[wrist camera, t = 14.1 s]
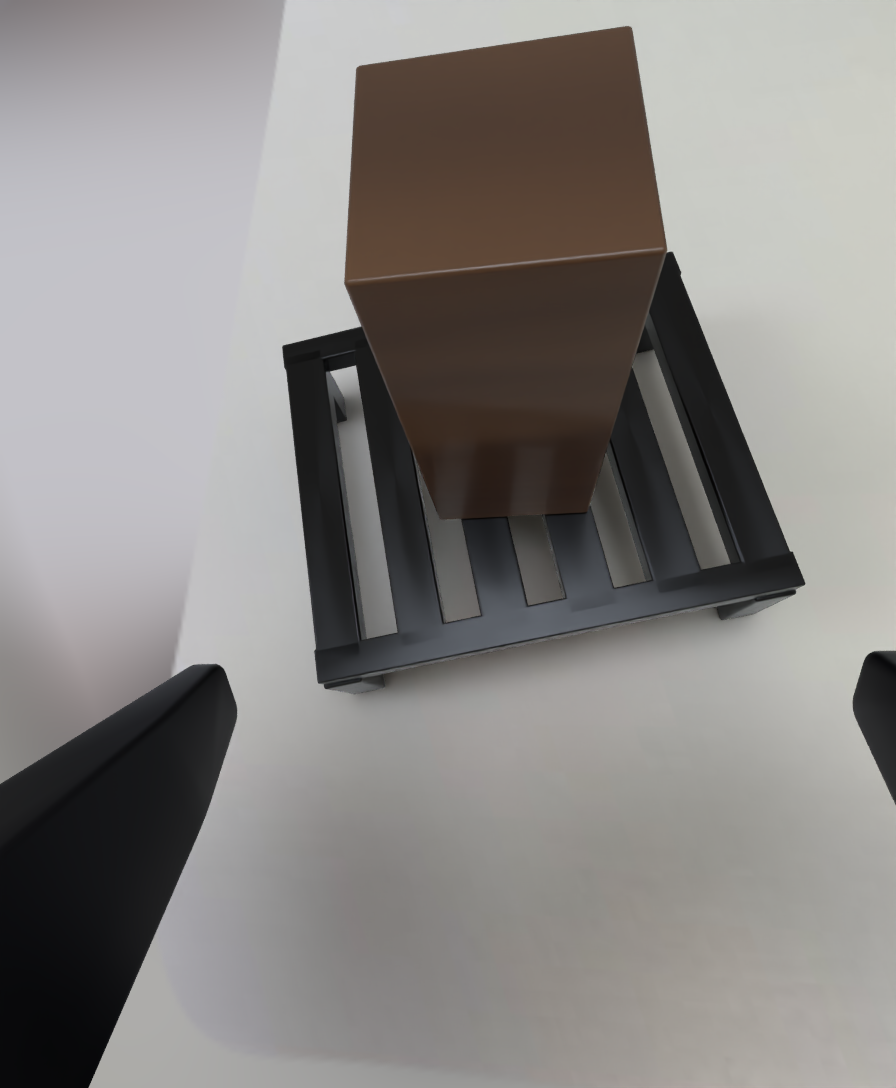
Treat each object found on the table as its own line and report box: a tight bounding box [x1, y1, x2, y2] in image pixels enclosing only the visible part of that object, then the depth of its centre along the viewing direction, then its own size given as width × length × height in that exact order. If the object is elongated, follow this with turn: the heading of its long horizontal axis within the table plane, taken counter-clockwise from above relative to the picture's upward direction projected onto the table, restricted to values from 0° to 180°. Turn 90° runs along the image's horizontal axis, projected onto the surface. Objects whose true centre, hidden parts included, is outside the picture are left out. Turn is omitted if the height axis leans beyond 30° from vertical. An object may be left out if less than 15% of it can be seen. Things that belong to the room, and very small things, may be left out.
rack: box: [282, 252, 805, 694], centre depth 20 cm, size 14×12×4 cm
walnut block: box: [344, 26, 667, 520], centre depth 13 cm, size 4×4×10 cm
